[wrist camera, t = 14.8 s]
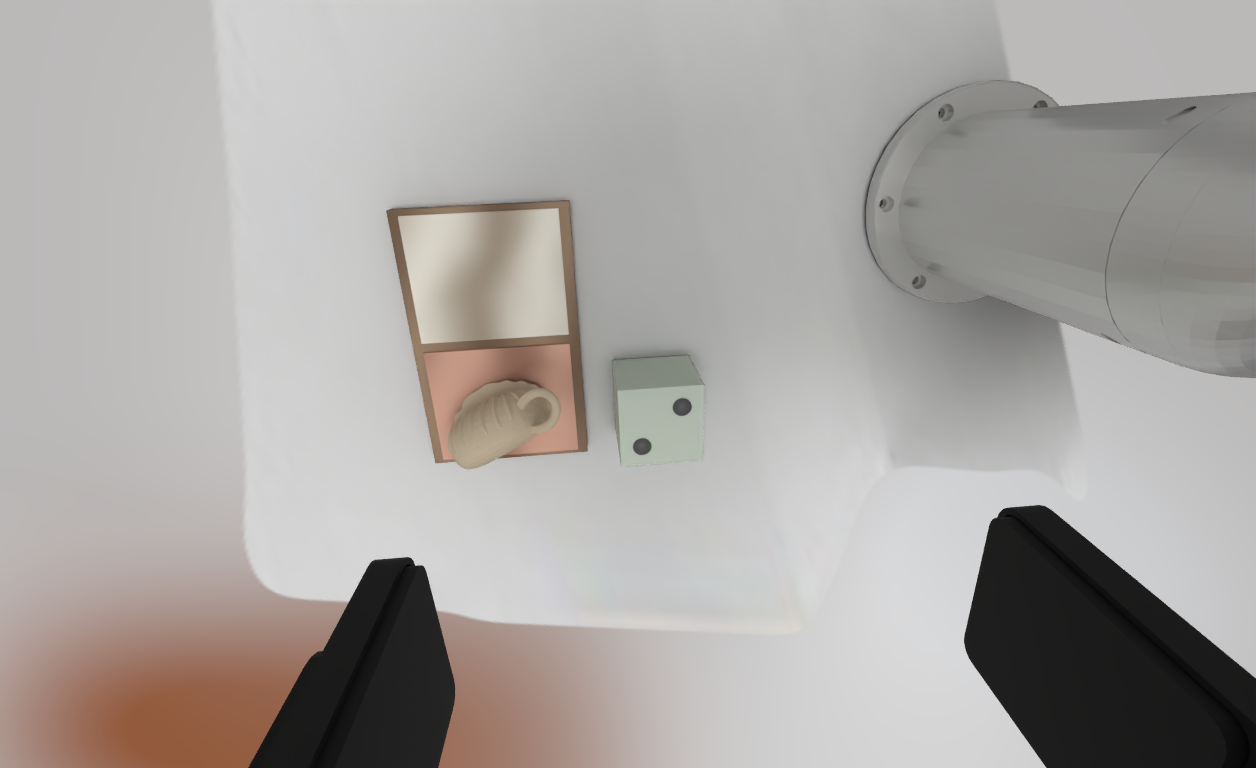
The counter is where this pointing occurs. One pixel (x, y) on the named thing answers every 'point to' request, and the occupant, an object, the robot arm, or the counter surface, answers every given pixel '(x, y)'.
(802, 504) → the counter surface
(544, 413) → the decorative ornament
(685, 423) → the die
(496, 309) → the brown framed panel
